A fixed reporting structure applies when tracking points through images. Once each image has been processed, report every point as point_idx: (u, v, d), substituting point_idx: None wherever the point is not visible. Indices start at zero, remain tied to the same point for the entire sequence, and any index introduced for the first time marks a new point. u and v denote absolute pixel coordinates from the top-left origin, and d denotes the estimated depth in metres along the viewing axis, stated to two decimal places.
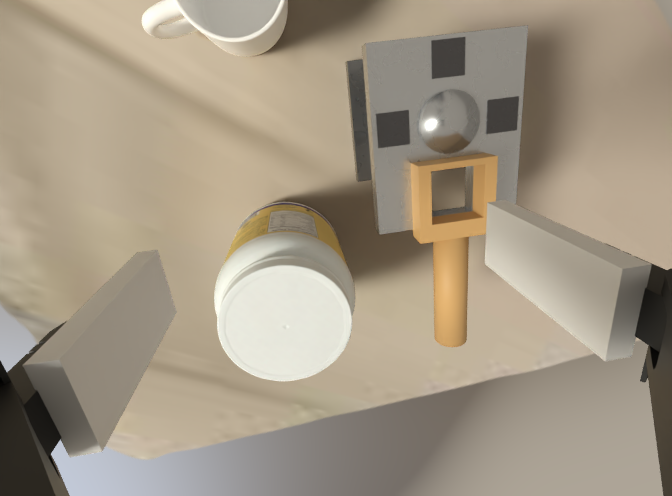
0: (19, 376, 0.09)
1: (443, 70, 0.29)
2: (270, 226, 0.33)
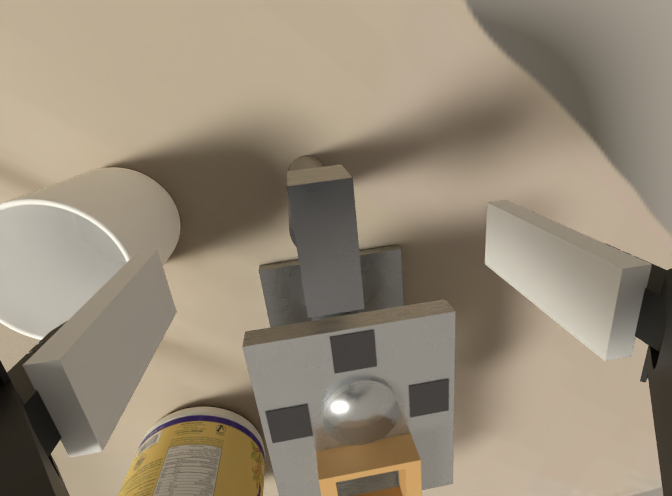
0: (19, 376, 0.09)
1: (348, 363, 0.22)
2: None
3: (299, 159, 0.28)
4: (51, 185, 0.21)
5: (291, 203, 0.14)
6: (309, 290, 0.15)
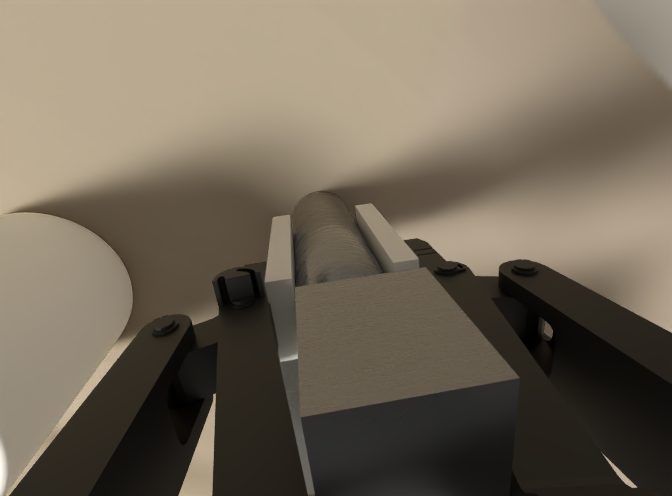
0: None
1: None
2: None
3: (310, 198, 0.18)
4: None
5: (314, 460, 0.04)
6: None
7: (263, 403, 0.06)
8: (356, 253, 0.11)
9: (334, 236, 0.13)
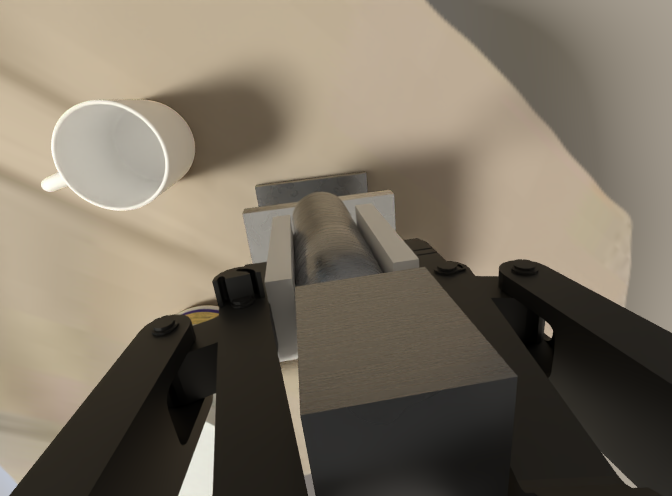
0: None
1: None
2: None
3: (310, 198, 0.18)
4: None
5: (314, 458, 0.04)
6: None
7: (263, 403, 0.06)
8: (355, 253, 0.11)
9: (333, 236, 0.13)
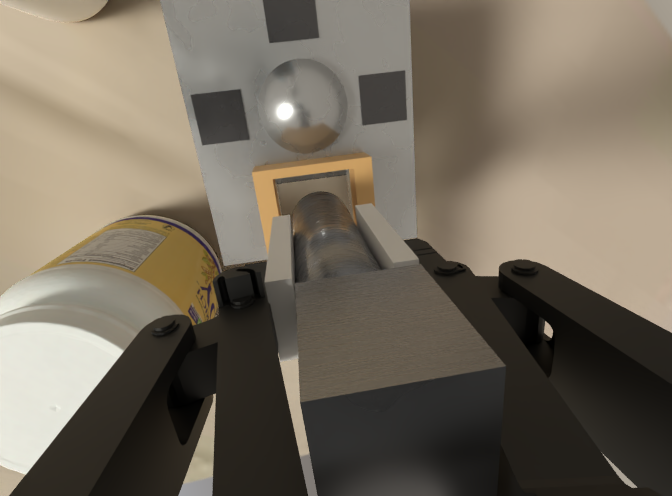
0: None
1: (285, 30, 0.19)
2: (73, 254, 0.24)
3: (310, 198, 0.19)
4: None
5: (313, 443, 0.04)
6: None
7: (264, 403, 0.06)
8: (354, 251, 0.12)
9: (333, 235, 0.13)
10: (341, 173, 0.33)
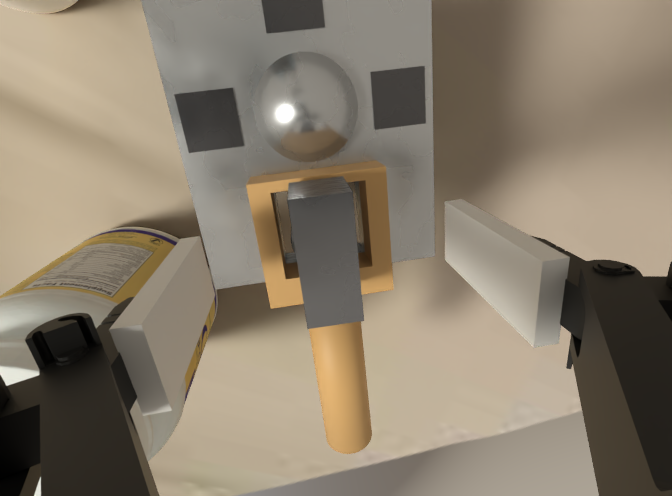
0: None
1: (285, 18, 0.16)
2: (44, 275, 0.21)
3: None
4: None
5: (291, 216, 0.14)
6: (309, 302, 0.15)
7: (107, 465, 0.06)
8: None
9: None
10: None
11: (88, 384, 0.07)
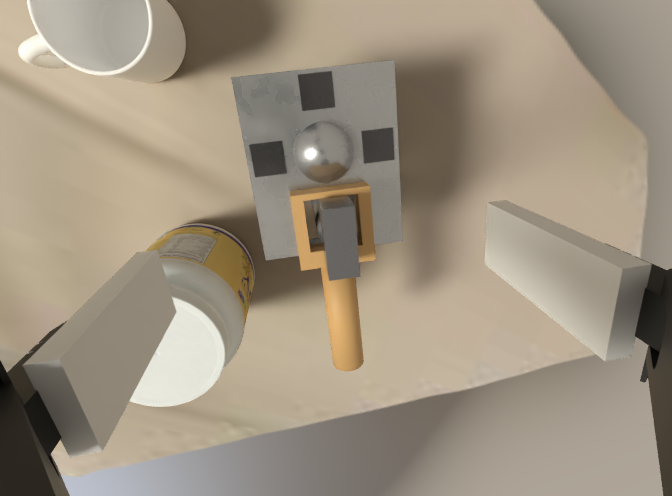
0: (19, 376, 0.09)
1: (313, 102, 0.29)
2: (159, 251, 0.33)
3: None
4: None
5: (322, 219, 0.27)
6: (330, 265, 0.28)
7: None
8: None
9: None
10: None
11: None
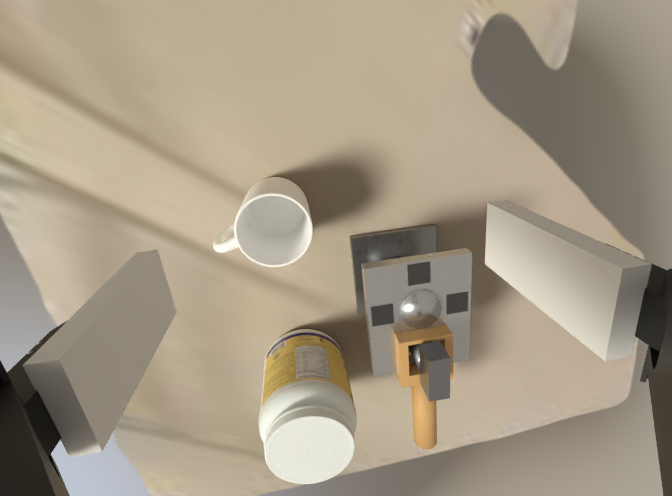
0: (19, 376, 0.09)
1: (415, 280, 0.43)
2: (297, 370, 0.47)
3: None
4: (264, 187, 0.42)
5: (429, 366, 0.40)
6: (430, 392, 0.42)
7: None
8: None
9: None
10: None
11: None
